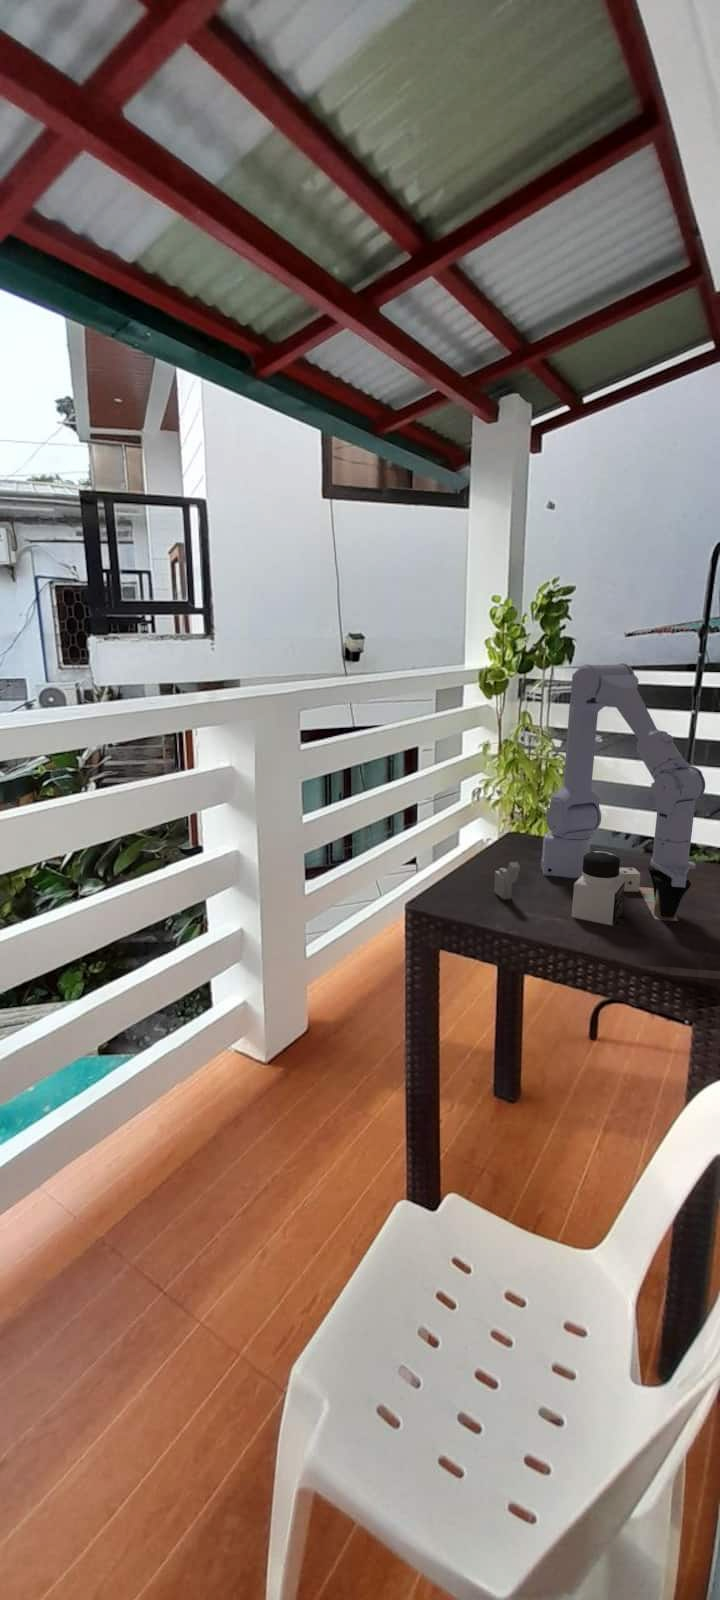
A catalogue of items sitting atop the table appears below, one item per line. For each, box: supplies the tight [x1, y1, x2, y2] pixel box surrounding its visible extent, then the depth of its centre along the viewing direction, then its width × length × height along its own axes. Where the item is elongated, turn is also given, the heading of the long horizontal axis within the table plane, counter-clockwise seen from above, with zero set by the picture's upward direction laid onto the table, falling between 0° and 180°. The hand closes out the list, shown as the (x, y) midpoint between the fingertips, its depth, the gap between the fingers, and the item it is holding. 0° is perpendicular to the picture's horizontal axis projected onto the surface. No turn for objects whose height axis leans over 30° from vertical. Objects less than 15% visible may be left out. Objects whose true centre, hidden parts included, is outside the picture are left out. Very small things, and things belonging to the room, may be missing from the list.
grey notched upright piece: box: [493, 861, 521, 900], centre depth 133 cm, size 7×2×8 cm, turn 14°
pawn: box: [653, 888, 676, 919], centre depth 122 cm, size 3×3×7 cm
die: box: [619, 867, 641, 893], centre depth 136 cm, size 4×4×4 cm
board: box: [639, 886, 679, 922], centre depth 129 cm, size 8×19×1 cm, turn 169°
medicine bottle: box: [571, 850, 625, 926], centre depth 122 cm, size 7×7×12 cm
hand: (664, 911), depth 123 cm, fingers closed on pawn, 3 cm apart
